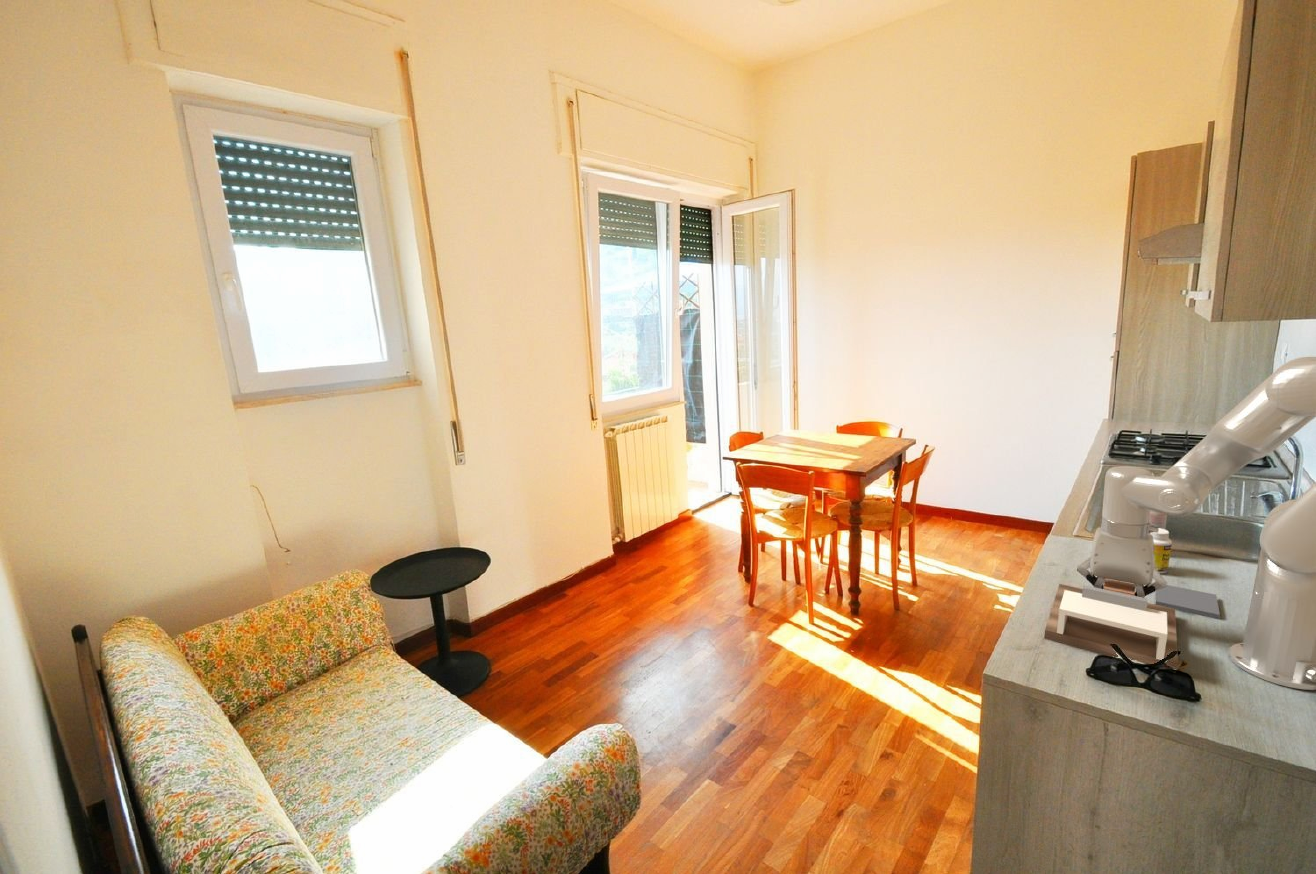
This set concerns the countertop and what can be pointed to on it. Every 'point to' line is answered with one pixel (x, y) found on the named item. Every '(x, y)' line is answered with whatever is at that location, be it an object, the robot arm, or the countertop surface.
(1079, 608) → the cream bridge stand
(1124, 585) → the block
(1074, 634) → the puzzle board
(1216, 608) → the slate mat
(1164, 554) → the supplement bottle
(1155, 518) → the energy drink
